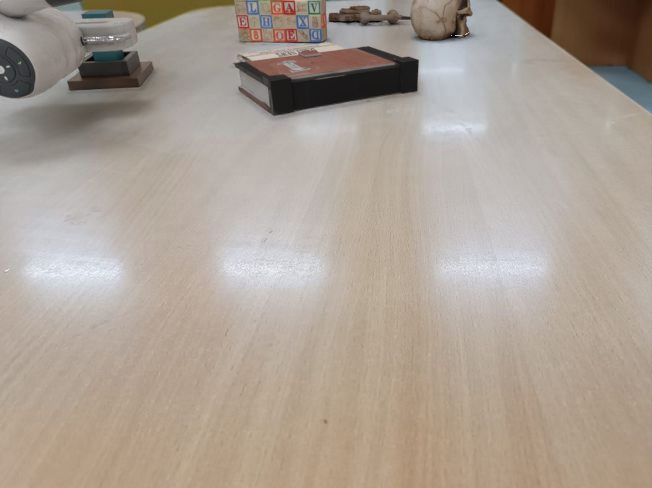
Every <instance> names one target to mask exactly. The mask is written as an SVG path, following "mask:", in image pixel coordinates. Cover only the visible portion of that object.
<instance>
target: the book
mask: <svg viewBox="0 0 652 488" xmlns="http://www.w3.org/2000/svg"><path fill="white" fill-rule="evenodd" d="M237 62H238V61H237ZM419 65H420V60H419V59H417V58H415V57H412V56H399V55H397V54H393V53H391V52H387V51H385V50H381V49H378V48H376V47H372V46H369V45H367V46H360V47H359V46H358V47H352V48H344V49H342V50H334V51H326V52H317V51H315V50H311V51H309V50H307V51H302V52H298V55H294V56H286V57H278V58H270V59H262V60H254V61H246V62H238V63H235V62H234V67H235V68H236V69H238V70H239V78H240V84H241V85H238V86H237V87H238V91H239V92H241V93H242V94H243V95H245V96H246V97H247V98H249V99H250V100H251V101H254V102H255V103H256V104H257V105H258V106H260V107H261V108H263V109H264V110H265V111H267V112H268V113H269V114H271V115H272V116H279V115H285V114H290V113H294V112H295V111H301V110H306V109H313V108H318V107H325V106H331V105H335V104H336V105H337V104H341V103H347V102H354V101H359V100H365V99H371V98H377V97H382V96H389V95H394V94H406V93H413V92H417V91H418V86H419V68H420V66H419Z"/></svg>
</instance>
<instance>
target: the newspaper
mask: <svg viewBox="0 0 652 488" xmlns="http://www.w3.org/2000/svg"><path fill="white" fill-rule="evenodd" d="M342 49H345V47H343V46H341V45H338V44H335V43H332V42H329V41H326V42H324V41H323V42H316V43H310V44H303V45H302V44H301V45H295V46H288V47H281V48H280V47H279V48H272V49H265V50H257V51H256V50H255V51H250V52H249V51H247V52H241V53H240V52H239V53H237V54H236V60H237V61H234V62H232V64H233V65H235V63H238V62H246V61H254V60H262V59H270V58H278V57H286V56H294V55H298V52H302V51H307V50H309V51H311V50H315V51H317V52H326V51H334V50H342Z"/></svg>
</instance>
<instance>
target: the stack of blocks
mask: <svg viewBox="0 0 652 488" xmlns="http://www.w3.org/2000/svg"><path fill="white" fill-rule="evenodd" d="M233 4H234V11H235V12H234V13H235V17H236V23H237V30H238V37H239V42H249V43H250V42H252V43H274V42H275V43H324V41H325V40H327V39H328V20H327V19H328V18H327V0H233Z"/></svg>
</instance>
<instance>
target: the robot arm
mask: <svg viewBox="0 0 652 488" xmlns="http://www.w3.org/2000/svg"><path fill="white" fill-rule="evenodd" d="M84 1H85V0H0V97H2V98H6V99H13V100H24V99H30V98H34V97H37V96H39V95H40V94H43V93H45V92H47V91H48V90H50V89H52V88H53V87H55V86H56V85H57V84H58V83H60V81H62V80H63V79H65V78H67V77H68V76H69V75H71V74H72V73H73V72H75V71H76V70H77V69H78V67H79V66H80V65H81V64H82V62H83V61H84V58H85V57H86V56H87V55H86V54H87V53H92V52H102V51H118V50H123V51H124V50H126V49H127V50H128V49H130V48H131V47H133V46H135V45H137V43H138V41H139V38H138V33H137V29H136V25H135V21H134V20H133V18H130V17H114V18H94V19H82V18H71V17H70V16H69V15H67V14H66V13H64V12H63V11H61V10H59V9H57V7H62V6H67V5H70V4H76V3H80V2H84Z"/></svg>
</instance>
